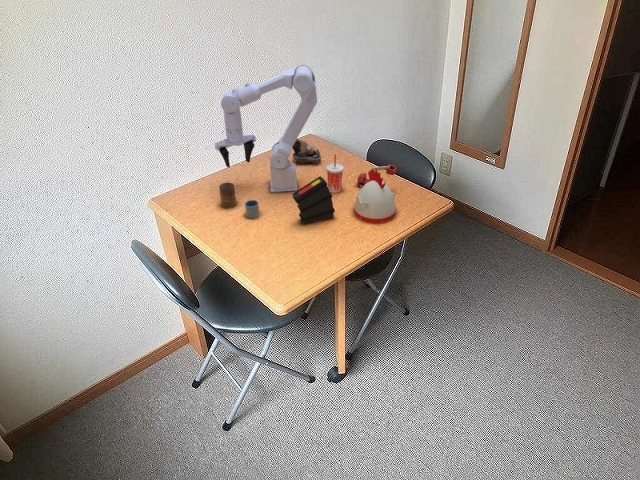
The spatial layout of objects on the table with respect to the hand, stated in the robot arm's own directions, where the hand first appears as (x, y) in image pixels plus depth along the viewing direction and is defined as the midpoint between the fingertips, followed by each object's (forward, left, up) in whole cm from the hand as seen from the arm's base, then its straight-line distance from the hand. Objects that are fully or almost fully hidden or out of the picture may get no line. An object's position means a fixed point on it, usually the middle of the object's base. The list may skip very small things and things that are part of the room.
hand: (237, 163), depth 174 cm
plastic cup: (-4, +20, -9) cm, 22 cm away
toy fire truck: (-49, +8, -10) cm, 51 cm away
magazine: (-24, +26, -10) cm, 37 cm away
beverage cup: (-34, +7, -10) cm, 36 cm away
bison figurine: (-53, -20, +18) cm, 60 cm away
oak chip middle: (+4, +12, -7) cm, 14 cm away
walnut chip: (+4, +12, -5) cm, 13 cm away
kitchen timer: (-45, +24, -10) cm, 52 cm away
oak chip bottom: (+4, +12, -9) cm, 16 cm away
